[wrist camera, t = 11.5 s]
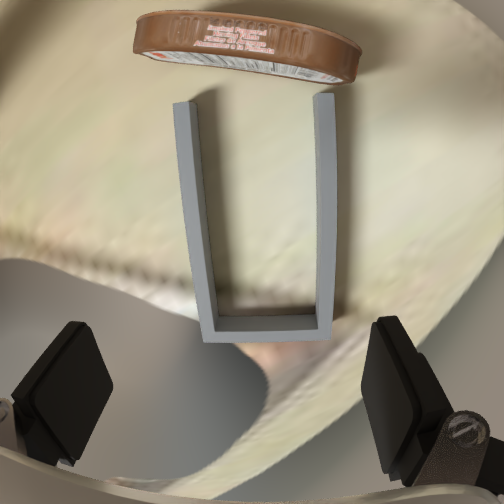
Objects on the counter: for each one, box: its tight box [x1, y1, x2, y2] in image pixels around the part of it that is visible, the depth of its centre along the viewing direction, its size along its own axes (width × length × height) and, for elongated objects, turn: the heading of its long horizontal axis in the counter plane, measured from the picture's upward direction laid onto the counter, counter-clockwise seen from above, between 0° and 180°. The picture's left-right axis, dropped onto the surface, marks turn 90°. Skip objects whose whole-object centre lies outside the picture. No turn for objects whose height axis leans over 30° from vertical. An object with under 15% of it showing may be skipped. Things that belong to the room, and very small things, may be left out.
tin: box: [133, 10, 362, 85], centre depth 18 cm, size 15×3×8 cm, turn 80°
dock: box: [173, 93, 337, 343], centre depth 25 cm, size 11×20×2 cm, turn 4°
